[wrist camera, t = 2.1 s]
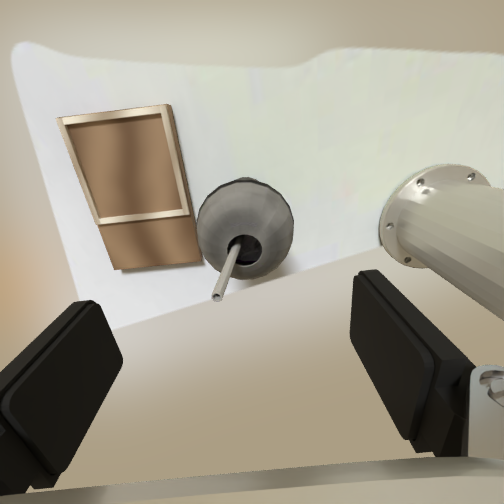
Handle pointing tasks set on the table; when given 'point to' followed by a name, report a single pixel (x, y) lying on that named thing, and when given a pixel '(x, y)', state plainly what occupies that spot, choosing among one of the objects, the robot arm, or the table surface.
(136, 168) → the walnut board
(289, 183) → the table surface
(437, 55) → the table surface
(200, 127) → the table surface
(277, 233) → the beverage cup
